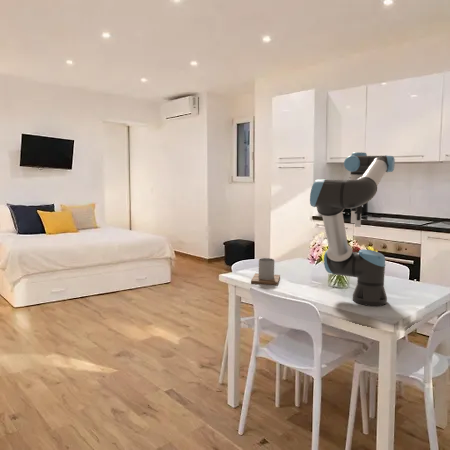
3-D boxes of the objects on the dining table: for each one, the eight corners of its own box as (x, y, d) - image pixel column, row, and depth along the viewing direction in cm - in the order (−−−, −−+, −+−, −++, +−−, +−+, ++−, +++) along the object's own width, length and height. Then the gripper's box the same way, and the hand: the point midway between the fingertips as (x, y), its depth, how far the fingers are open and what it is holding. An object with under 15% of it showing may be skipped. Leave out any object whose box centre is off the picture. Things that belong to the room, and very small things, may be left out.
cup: (272, 280, 227) (273, 261, 226) (257, 279, 229) (257, 260, 228) (274, 276, 235) (275, 258, 234) (259, 275, 237) (260, 257, 236)
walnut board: (277, 285, 224) (277, 282, 223) (251, 283, 226) (251, 280, 226) (280, 277, 239) (280, 274, 239) (255, 275, 242) (255, 273, 242)
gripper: (346, 182, 229) (344, 221, 232) (353, 184, 205) (351, 227, 207) (361, 182, 228) (359, 222, 231) (370, 184, 203) (367, 228, 206)
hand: (355, 225), depth 219 cm, fingers open, 13 cm apart
